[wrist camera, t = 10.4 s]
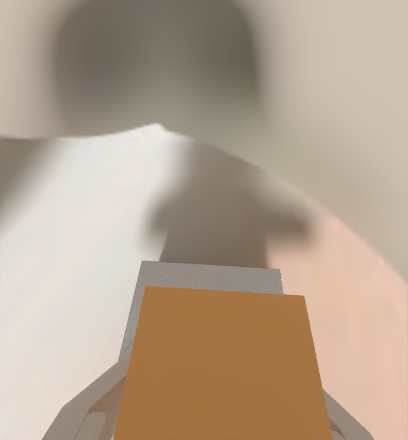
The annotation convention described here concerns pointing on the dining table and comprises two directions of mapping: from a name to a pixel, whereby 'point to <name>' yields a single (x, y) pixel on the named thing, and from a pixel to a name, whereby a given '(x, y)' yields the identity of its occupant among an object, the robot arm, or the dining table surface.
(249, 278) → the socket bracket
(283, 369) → the rectangular peg
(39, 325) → the dining table surface
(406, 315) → the dining table surface
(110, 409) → the robot arm
